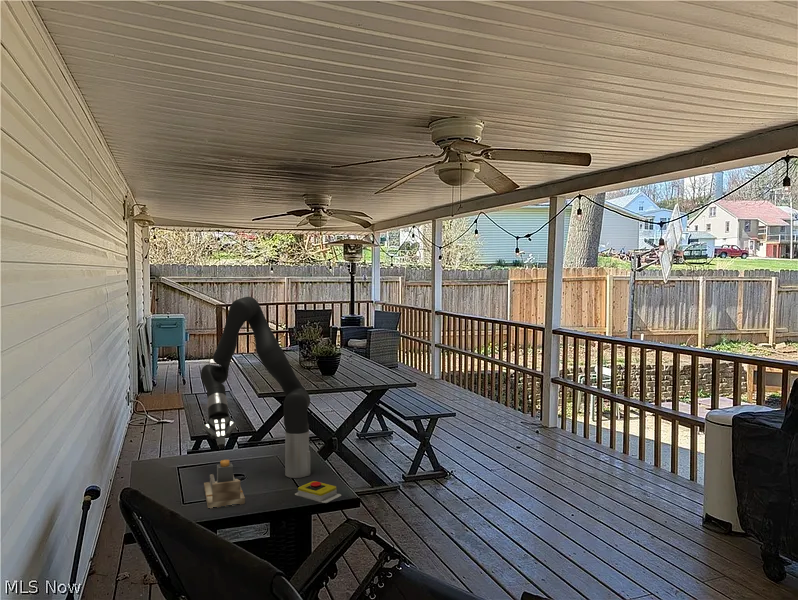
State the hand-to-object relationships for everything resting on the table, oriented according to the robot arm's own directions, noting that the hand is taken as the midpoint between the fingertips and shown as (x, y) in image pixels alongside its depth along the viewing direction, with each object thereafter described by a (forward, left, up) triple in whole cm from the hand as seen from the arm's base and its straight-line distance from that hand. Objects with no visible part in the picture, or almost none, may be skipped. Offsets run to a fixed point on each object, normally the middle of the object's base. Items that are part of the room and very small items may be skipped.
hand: (221, 446), depth 212 cm
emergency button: (-31, +22, -16) cm, 41 cm away
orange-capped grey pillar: (0, +15, -13) cm, 20 cm away
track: (0, +10, -15) cm, 18 cm away
